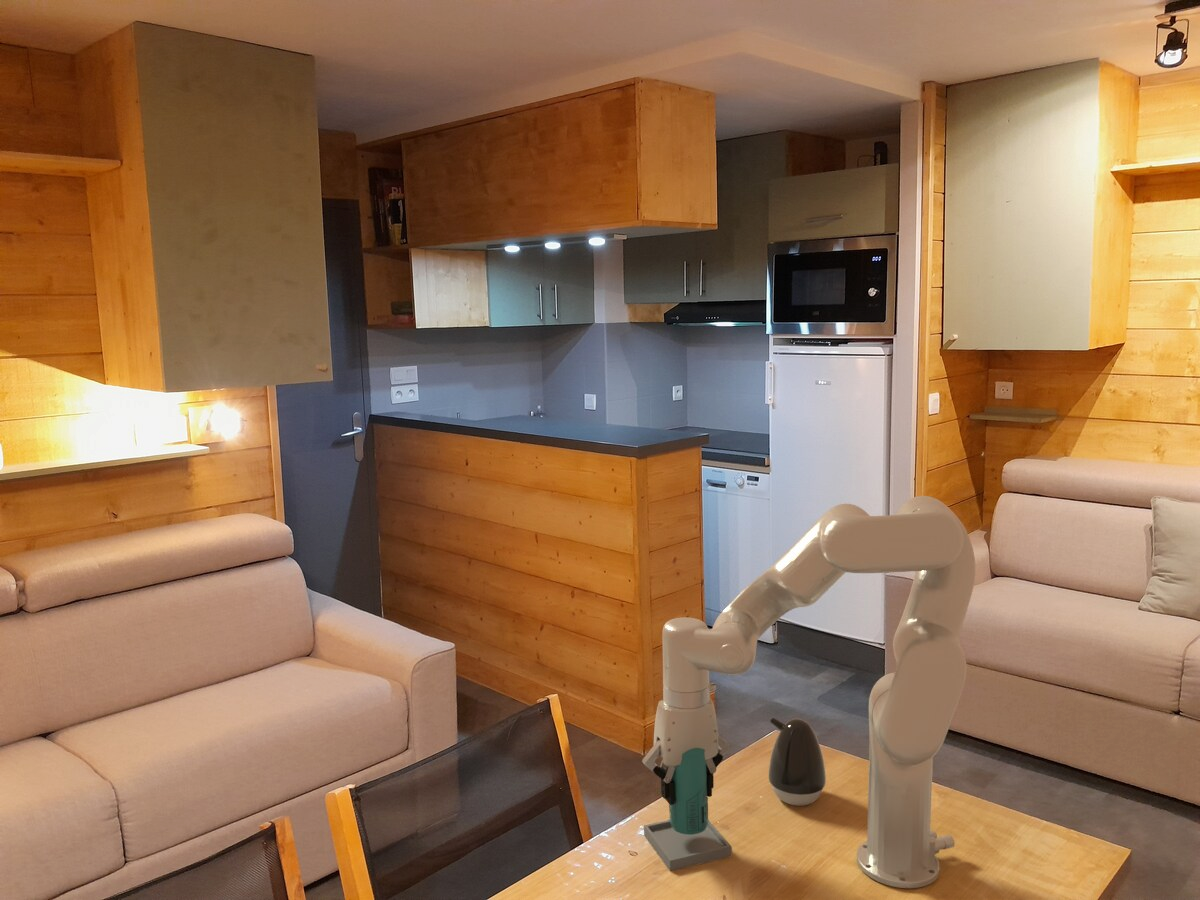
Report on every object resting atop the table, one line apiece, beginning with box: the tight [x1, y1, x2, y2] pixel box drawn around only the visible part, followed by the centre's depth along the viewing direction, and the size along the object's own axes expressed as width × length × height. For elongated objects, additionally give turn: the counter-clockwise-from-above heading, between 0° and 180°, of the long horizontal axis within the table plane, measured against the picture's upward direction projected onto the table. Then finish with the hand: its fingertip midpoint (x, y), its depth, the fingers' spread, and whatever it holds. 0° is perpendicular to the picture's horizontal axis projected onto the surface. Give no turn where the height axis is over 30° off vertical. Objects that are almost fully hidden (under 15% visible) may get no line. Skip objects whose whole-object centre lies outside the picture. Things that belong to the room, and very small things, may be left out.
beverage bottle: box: [668, 748, 710, 835], centre depth 154 cm, size 6×7×20 cm
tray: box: [643, 819, 732, 872], centre depth 155 cm, size 11×11×2 cm
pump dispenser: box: [768, 717, 827, 807], centre depth 169 cm, size 10×10×15 cm
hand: (687, 795), depth 154 cm, fingers closed on beverage bottle, 6 cm apart
